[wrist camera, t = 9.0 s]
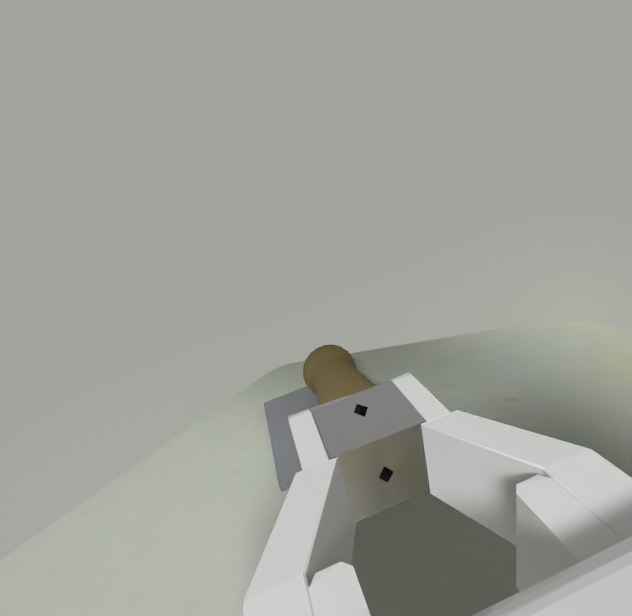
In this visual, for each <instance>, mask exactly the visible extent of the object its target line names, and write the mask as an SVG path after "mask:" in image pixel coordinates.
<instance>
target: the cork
mask: <svg viewBox="0 0 632 616" xmlns="http://www.w3.org/2000/svg"><path fill="white" fill-rule="evenodd" d="M303 376H304V379H305V382H306V384H307V386H308V387H309V389H310V390H311V391H312V392H313V393H314V394H316V395H317V398H318V402H319V405H321V404H324V403H327V402H330V401H333V400H336V399H339V398H342V397H345V396H348V395H351V394H354V393H357V392H360V391H362V390H365V389H368V388H370V387H373V386H376V385H375V384H373V383H372V382H371V381H370V380H369V379H367V378H366V377H365V376H364V375H363V374H361V373H360V372H359V371H358V370H357V369H356V366H355V362H354V359H353V358H352V357H351V355H350V354H349V353H348V351H346V350H345V349H343V348H342V347H339V346H336V345H324V346H322V347H319V348H317V349H316V350H314V351H313V352H312V353H311V354H310V355H309V356H308V358H307V359H306V361H305V364H304V371H303Z"/></svg>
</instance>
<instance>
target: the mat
mask: <svg viewBox="0 0 632 616" xmlns="http://www.w3.org/2000/svg"><path fill="white" fill-rule="evenodd" d="M318 405H319V402H318V398H317V395H316V394H314V393H313V392H312V391H311V390H310V389H309V387H308V386H307V387H304V388H302V389H299V390H297V391H294V392H291V393H289V394H286V395H284V396H281V397H278V398H276V399H273V400H270V401H268V402H265V403H264V406H265V411H266V417H267V422H268V428H269V433H270V439H271V444H272V449H273V455H274V460H275V466H276V471H277V477H278V482H279V486H280V489H281V491H282V490H284V489H287V488H289V487H290V486H291V483H292V481H293V478H294V476H295V474H296V473H297V472H300V471H302V467H301V463H300V460H299V456H298V453H297V449H296V446H295V442H294V438H293V435H292V431H291V428H290V424H289V420H288V416H290V415H293V414H296V413H298V412H301V411H304V410H307V409H309V410H310V408H312V407H315V406H318Z"/></svg>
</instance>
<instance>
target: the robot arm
mask: <svg viewBox="0 0 632 616" xmlns="http://www.w3.org/2000/svg"><path fill="white" fill-rule="evenodd" d="M288 420H289V424H290V428H291V431H292V435H293V438H294V442H295V446H296V449H297V453H298V456H299V460H300V463H301V467H302V471H300V472H297V473H296V474H295V476H294V478H293V481H292V483H291V486H290V488H289V491H288V493H287V496H286V498H285V500H284V503H283V505H282V508H281V510H280V513H279V515H278V517H277V520H276V522H275V525H274V527H273V530H272V532H271V535H270V537H269V539H268V542H267V544H266V547H265V549H264V552H263V554H262V557H261V559H260V561H259V564H258V566H257V569H256V571H255V574H254V576H253V579H252V581H251V583H250V586H249V588H248V591H247V593H246V596H245V598H244V600H243V610H244V616H371V615H370V612H369V609H368V607H367V604H366V601H365V598H364V595H363V592H362V590H361V587H360V584H359V581H358V578H357V575H356V573H355V570H354V567H353V566H352V565H351V562H352V555H353V548H354V540H355V533H356V523H357V522H359V521H361V520H363V519H365V518H368V517H370V516H372V515H374V514H376V513H378V512H381V511H383V510H385V509H387V508H389V507H391V506H394V505H396V504H399V503H402V502H404V501H407V500H409V499H412V498H414V497H417V496H420V495H422V494H425V493H427V492H430V494H432V495H434V496H435V497H437V498H438V499H440V500H442V501H443V502H445V503H447V504H448V505H450V506H452V507H453V508H455V509H456V510H458V511H460V512H461V513H463V514H465V515H466V516H468V517H470V518H471V519H473V520H474V521H476V522H478V523H479V524H481V525H483V526H484V527H486V528H487V529H489V530H491V531H492V532H494V533H496V534H497V535H499V536H501V537H502V538H504V539H505V540H507V541H509V542H510V543H512V544H514V545H515V546H516V587H517V588H518V590H519V591H520V592H518V593H516V594H514V595H512V596H510V597H508V598H506V599H504V600H502V601H500V602H498V603H496V604H494V605H492V606H490V607H488V608H486V609H484V610H482V611H480V612H478V613H476V614H474V615H472V616H632V478H631V477H630V476H628V475H627V474H626V473H624V472H623V471H621V470H620V469H619V468H617V467H616V466H614V465H613V464H612V463H610V462H609V461H607V460H606V459H605V458H603V457H602V456H600V455H599V454H598V453H596V452H595V451H593V450H592V449H589V448H586V447H582V446H579V445H575V444H572V443H569V442H565V441H562V440H558V439H555V438H551V437H548V436H545V435H541V434H538V433H534V432H531V431H527V430H524V429H521V428H517V427H514V426H510V425H507V424H503V423H500V422H497V421H493V420H490V419H486V418H483V417H479V416H476V415H473V414H469V413H466V412H462V411H459V410H456V411H453V412H450V411H449V410H448V409H447V408H446V407H445V406H444V405H443V404H442V403H441V402H440V401H439V400H438V399H437V398H436V397H435V396H434V395H433V394H432V393H431V392H430V391H429V390H428V389H427V388H426V387H424V386H423V385H422V384H421V383H420V382H419V381H418V380H417V379H416V378H415V377H414V376H413V375H412V374H410V373H405V374H403V375H400V376H398V377H395V378H392V379H390V380H388V381H387V382H384V383H381V384H379V385H376V386H373V387H370V388H368V389H365V390H362V391H360V392H357V393H354V394H351V395H348V396H345V397H342V398H339V399H336V400H333V401H330V402H327V403H324V404H321V405H318V406H315V407H312V408H310V410H309V409H307V410H304V411H301V412H298V413H296V414H293V415H290V416H288Z"/></svg>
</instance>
